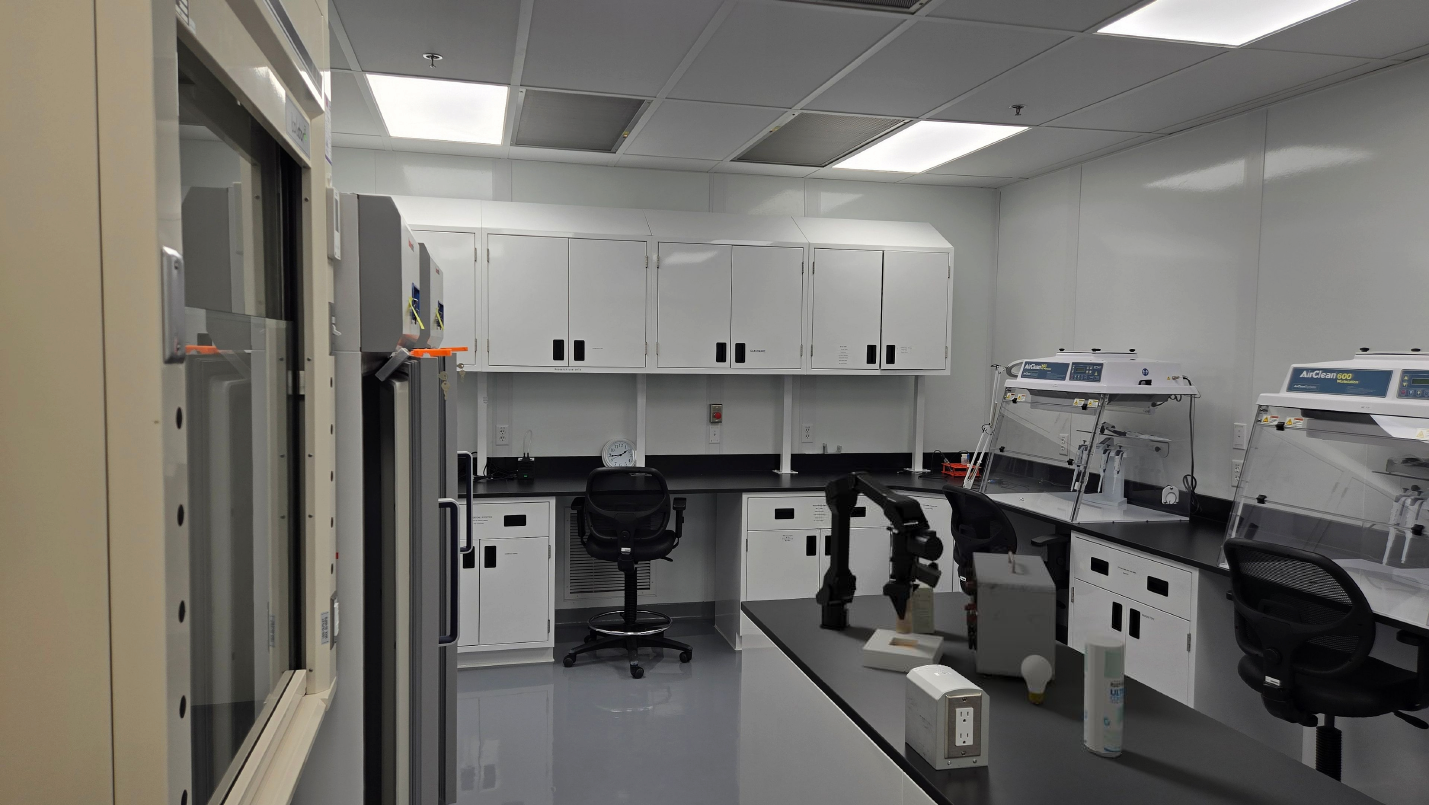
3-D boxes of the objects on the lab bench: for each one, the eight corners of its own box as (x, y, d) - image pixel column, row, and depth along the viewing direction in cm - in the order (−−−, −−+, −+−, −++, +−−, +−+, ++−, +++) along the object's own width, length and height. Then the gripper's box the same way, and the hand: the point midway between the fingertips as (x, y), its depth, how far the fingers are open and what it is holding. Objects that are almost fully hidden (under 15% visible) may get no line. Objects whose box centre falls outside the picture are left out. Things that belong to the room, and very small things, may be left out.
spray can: (1111, 761, 143) (1112, 649, 142) (1076, 748, 148) (1077, 639, 148) (1129, 751, 147) (1131, 642, 146) (1095, 738, 152) (1096, 632, 151)
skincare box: (931, 628, 217) (932, 583, 216) (934, 634, 212) (934, 587, 212) (907, 628, 217) (907, 582, 217) (909, 633, 213) (909, 587, 213)
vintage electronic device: (963, 634, 212) (964, 539, 211) (1038, 640, 207) (1039, 543, 206) (967, 679, 181) (968, 568, 180) (1054, 688, 176) (1056, 573, 175)
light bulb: (1050, 700, 170) (1051, 652, 169) (1052, 711, 164) (1052, 662, 164) (1020, 696, 172) (1020, 649, 171) (1021, 707, 166) (1021, 659, 166)
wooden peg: (894, 633, 193) (894, 591, 192) (897, 628, 196) (897, 587, 196) (909, 635, 191) (910, 593, 191) (912, 630, 195) (913, 589, 194)
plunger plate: (889, 654, 192) (889, 651, 192) (894, 647, 197) (894, 644, 197) (913, 657, 190) (913, 654, 190) (917, 650, 195) (917, 647, 195)
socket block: (862, 665, 190) (862, 648, 190) (877, 644, 204) (877, 628, 204) (932, 676, 183) (932, 658, 183) (943, 653, 198) (943, 637, 198)
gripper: (932, 564, 181) (931, 633, 182) (945, 547, 198) (944, 610, 199) (882, 559, 186) (882, 627, 186) (898, 543, 203) (898, 605, 203)
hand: (903, 617), depth 194 cm, fingers closed on wooden peg, 4 cm apart
